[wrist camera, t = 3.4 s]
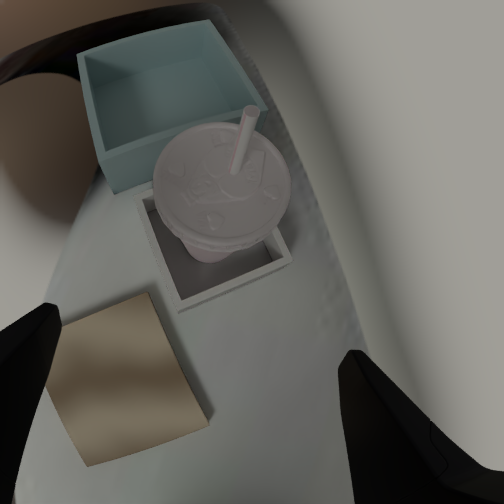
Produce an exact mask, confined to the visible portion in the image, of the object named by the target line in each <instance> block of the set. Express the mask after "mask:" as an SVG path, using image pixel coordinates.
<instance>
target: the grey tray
mask: <svg viewBox="0 0 504 504" xmlns="http://www.w3.org/2000/svg"><path fill="white" fill-rule="evenodd" d="M133 197H134V200H135V203H136V206H137V209H138V212H139V215H140V218H141V220H142V223H143V226H144V229H145V231H146V234H147V237H148V240H149V242H150V245H151V248H152V250H153V253H154V255H155V258H156V261H157V263H158V266H159V268H160V271H161V273H162V276H163V278H164V281H165V283H166V286H167V288H168V291H169V293H170V295H171V298H172V300H173V303H174V305H175V307H176V310H177V312H178V313H181V312H183V311H186V310H188V309H190V308H193V307H195V306H198V305H200V304H202V303H205V302H207V301H209V300H212V299H214V298H216V297H219V296H221V295H223V294H226V293H228V292H230V291H233V290H235V289H237V288H240V287H242V286H244V285H246V284H249V283H251V282H253V281H256V280H258V279H260V278H262V277H265V276H267V275H269V274H271V273H274V272H276V271H278V270H280V269H283V268H284V267H286V266H287V265H289V264H290V263H291V262H293V258H292V256H291V254H290V252H289V250H288V248H287V246H286V244H285V242H284V240H283V237H282V235H281V233H280V231H279V229H278V227H276V228H275V229H274V230H273V231H272V232H271V233H270V234H269V235H268V236H267V237H266V238H265V239H264V240H263V242H264V244H265V246H266V248H267V250H268V252H269V254H270V256H271V259H272V261H273V262H271V263H269V264H267V265H264V266H262V267H260V268H257V269H255V270H253V271H250V272H248V273H246V274H243V275H241V276H239V277H236V278H234V279H232V280H229V281H227V282H225V283H222V284H220V285H217V286H215V287H213V288H210V289H208V290H206V291H203V292H201V293H199V294H196V295H194V296H191V297H189V298H187V299H184V300H182V301H181V298H180V296H179V294H178V291H177V289H176V287H175V284H174V282H173V279H172V277H171V274H170V272H169V270H168V267H167V265H166V262H165V260H164V257H163V254H162V252H161V249H160V247H159V244H158V242H157V239H156V236H155V234H154V231H153V228H152V226H151V223H150V220H149V217H148V215H147V212H149V211H152V210H154V209H156V207H155V201H154V195H153V188H152V189H149V190H146V191H144V192H141V193H138V194H136V195H133Z"/></svg>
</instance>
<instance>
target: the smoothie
mask: <svg viewBox="0 0 504 504" xmlns="http://www.w3.org/2000/svg"><path fill="white" fill-rule="evenodd" d="M259 115H260V110H259V109H258V108H257V107H256V106H253V105H248V106H246V107H245V108H244V110H243V114H242V118H241V121H240V125H239V124H235V123H229V122H210V123H204V124H200V125H197V126H194V127H191V128H189V129H187V130H185V131H183V132H181V133H180V134H178V135H177V136H176V137H174V138H173V139H172V140H171V141H170V142H169V143H168V144H167V145H166V146H165V148H164V149H163V150H162V152H161V154H160V155H159V157H158V160H157V162H156V165H155V169H154V173H153V195H154V201H155V207H156V209H157V211H158V213H159V215H160V217H161V219H162V221H163V223H164V224H165V225H166V226H167V227H168V228H169V229H170V230H171V232H172V233H173V234H174V235H175V236H176V237H178V238H180V239H181V241H182V242H183V244H184V246H185V247H186V249H187V251H188V252H189V254H190V255H191V256H192V257H193V258H195V259H196V260H198V261H200V262H203V263H216V262H219V261H222V260H223V259H225V258H226V257H228V256H229V255H231V254H232V253H233V252H235V251H237V250H242V249H247V248H249V247H251V246H253V245H255V244H256V243H258V242H260V241H262V240H264V239H265V238H266V237H267V236H268V235H269V234H270V233H271V232H272V231H273V230H274V229H275V228H276V227H277V225H278V223H279V222H280V220H281V218H282V217H283V215H284V213H285V211H286V209H287V207H288V204H289V201H290V197H291V177H290V172H289V169H288V166H287V164H286V161H285V159H284V158H283V156H282V154H281V153H280V151H279V150H278V149H277V148H276V147H275V145H274V144H273V143H272V142H271V141H269V140H268V139H267V138H266V137H264V136H263V135H262V134H260V133H258V132H257V131H255V130H254V129H255V126H256V123H257V120H258V117H259Z"/></svg>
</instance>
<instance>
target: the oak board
mask: <svg viewBox="0 0 504 504" xmlns="http://www.w3.org/2000/svg"><path fill="white" fill-rule="evenodd" d="M45 386H46V388H47V391H48V393H49V395H50V397H51V400H52V402H53V404H54V406H55V408H56V411H57V413H58V415H59V417H60V419H61V421H62V423H63V425H64V427H65V429H66V431H67V433H68V434H69V436H70V438H71V440H72V442H73V444H74V445H75V447H76V449H77V451H78V453H79V454H80V456H81V458H82V459H83V461H84V463H85V464H86V466H87V467H89V466H93V465H96V464H100V463H104V462H107V461H111V460H114V459H118V458H121V457H124V456H127V455H131V454H134V453H137V452H140V451H143V450H146V449H149V448H152V447H155V446H158V445H160V444H163V443H166V442H169V441H171V440H174V439H177V438H179V437H182V436H185V435H187V434H190V433H192V432H195V431H197V430H200V429H202V428H205V427H207V426H209V421H208V420H207V418H206V416H205V414H204V412H203V410H202V408H201V406H200V404H199V402H198V401H197V399H196V397H195V395H194V393H193V391H192V389H191V387H190V385H189V383H188V381H187V379H186V376H185V374H184V372H183V370H182V368H181V366H180V364H179V362H178V360H177V358H176V355H175V353H174V351H173V349H172V347H171V344H170V342H169V340H168V338H167V335H166V333H165V331H164V329H163V326H162V324H161V322H160V319H159V317H158V315H157V312H156V310H155V307H154V305H153V302H152V300H151V297H150V295H149V293H148V292H145V293H143V294H140V295H138V296H135V297H133V298H131V299H128V300H126V301H123V302H121V303H118V304H116V305H114V306H111V307H109V308H106V309H104V310H102V311H99V312H97V313H94V314H92V315H90V316H87V317H85V318H82V319H80V320H77V321H75V322H73V323H70V324H68V325H65V326H63V327H62V331H61V334H60V338H59V341H58V344H57V348H56V351H55V355H54V359H53V362H52V366H51V370H50V373H49V376H48V379H47V381H46V384H45Z"/></svg>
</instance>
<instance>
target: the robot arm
mask: <svg viewBox="0 0 504 504" xmlns="http://www.w3.org/2000/svg"><path fill="white" fill-rule="evenodd" d="M61 331H62V323H61V319H60V314H59V309H58V307H57V305H55V304H51V303H43V304H42V305H40V306H39V307H37V308H35V309H34V310H32V311H31V312H29V313H28V314H26V315H24V316H23V317H21V318H20V319H18V320H17V321H15V322H14V323H12V324H11V325H9V326H8V327H6V328H5V329H3V330H2V331H0V504H12V499H13V494H14V490H15V485H16V484H15V483H16V480H17V476H18V471H19V467H20V463H21V459H22V456H23V452H24V448H25V445H26V441H27V438H28V435H29V431H30V428H31V425H32V422H33V419H34V415H35V412H36V409H37V406H38V404H39V401H40V398H41V395H42V392H43V389H44V387H45V384H46V381H47V379H48V376H49V373H50V370H51V366H52V362H53V359H54V355H55V351H56V348H57V344H58V341H59V338H60V334H61ZM338 381H339V395H340V409H341V417H342V423H343V429H344V435H345V441H346V447H347V454H348V460H349V466H350V473H351V480H352V487H353V494H354V502H355V504H504V471H496V470H490V469H488V468H485V467H483V466H481V465H480V464H479V463H478V462H476V461H475V460H474V459H473V458H472V457H470V456H469V455H468V454H467V453H466V452H464V451H463V450H462V449H461V448H459V446H457V445H456V444H455V443H454V442H453V441H452V440H450V439H449V438H448V437H447V436H446V435H445V434H444V433H443V432H442V431H441V430H440V429H439V428H438V427H437V426H436V425H435V424H434V423H433V422H432V421H430V419H429V418H428V417H427V416H426V415H425V414H424V413H423V412H422V411H421V410H420V409H419V408H418V407H417V406H416V405H415V404H414V403H413V402H412V401H411V400H410V399H409V397H407V396H406V395H405V393H404V392H403V391H402V390H401V389H400V388H399V387H398V386H397V385H396V384H395V383H394V382H393V381H392V380H391V379H390V378H389V377H388V376H387V375H386V374H385V373H384V372H383V371H382V370H381V369H380V368H379V367H378V366H377V365H376V364H375V363H374V362H373V361H372V360H371V359H370V358H369V357H368V356H367V355H366V354H365V353H364V352H363V351H361V350H349V351H348V352H347V354H346V356H345V357H344V359H343V360H342V362H341V364H340V365H339V368H338Z"/></svg>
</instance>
